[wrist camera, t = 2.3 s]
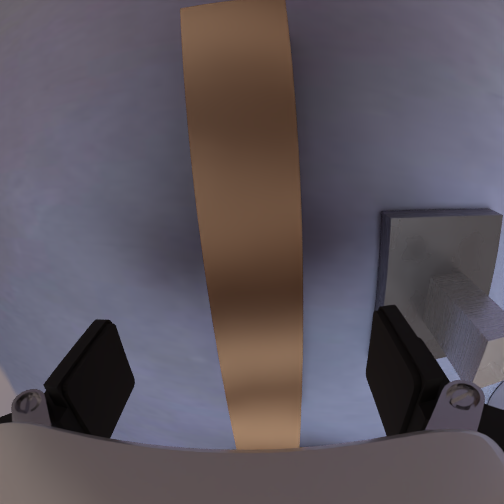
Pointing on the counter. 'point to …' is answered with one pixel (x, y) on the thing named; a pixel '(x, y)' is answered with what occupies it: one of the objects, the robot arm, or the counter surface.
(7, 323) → the counter surface
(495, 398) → the silver metal cylinder
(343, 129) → the counter surface
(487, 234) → the ridge
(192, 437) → the counter surface
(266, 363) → the walnut beam
